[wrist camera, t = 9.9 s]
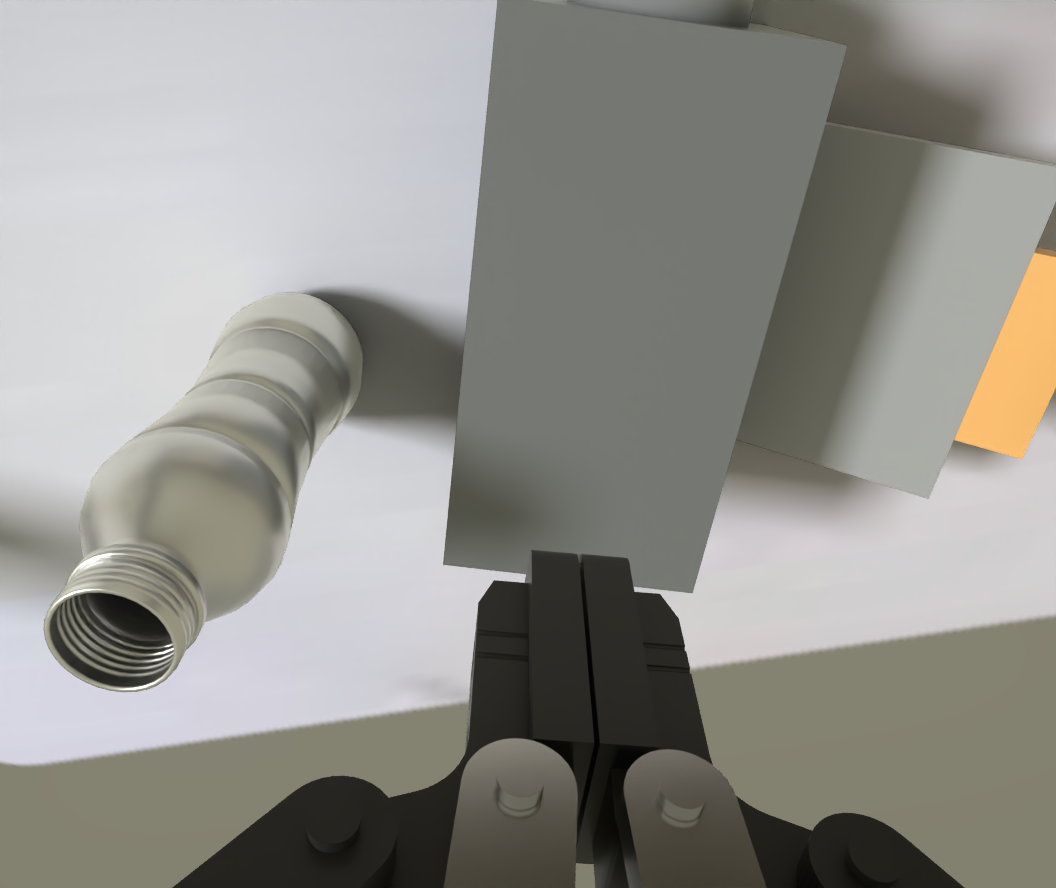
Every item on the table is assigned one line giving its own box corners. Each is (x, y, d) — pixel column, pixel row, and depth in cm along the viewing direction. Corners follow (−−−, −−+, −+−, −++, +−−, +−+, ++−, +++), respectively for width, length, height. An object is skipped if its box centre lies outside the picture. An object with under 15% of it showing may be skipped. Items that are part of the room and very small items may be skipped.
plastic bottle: (393, 314, 39) (266, 593, 21) (344, 430, 42) (199, 758, 24) (257, 254, 38) (5, 500, 20) (218, 379, 41) (-31, 685, 23)
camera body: (518, -76, 31) (506, -94, 23) (783, -37, 32) (871, -39, 23) (465, 441, 42) (443, 564, 33) (663, 465, 42) (692, 593, 34)
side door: (772, 114, 33) (1153, 185, 29) (777, 112, 34) (1146, 180, 30) (693, 427, 40) (992, 519, 36) (699, 417, 41) (991, 506, 37)
